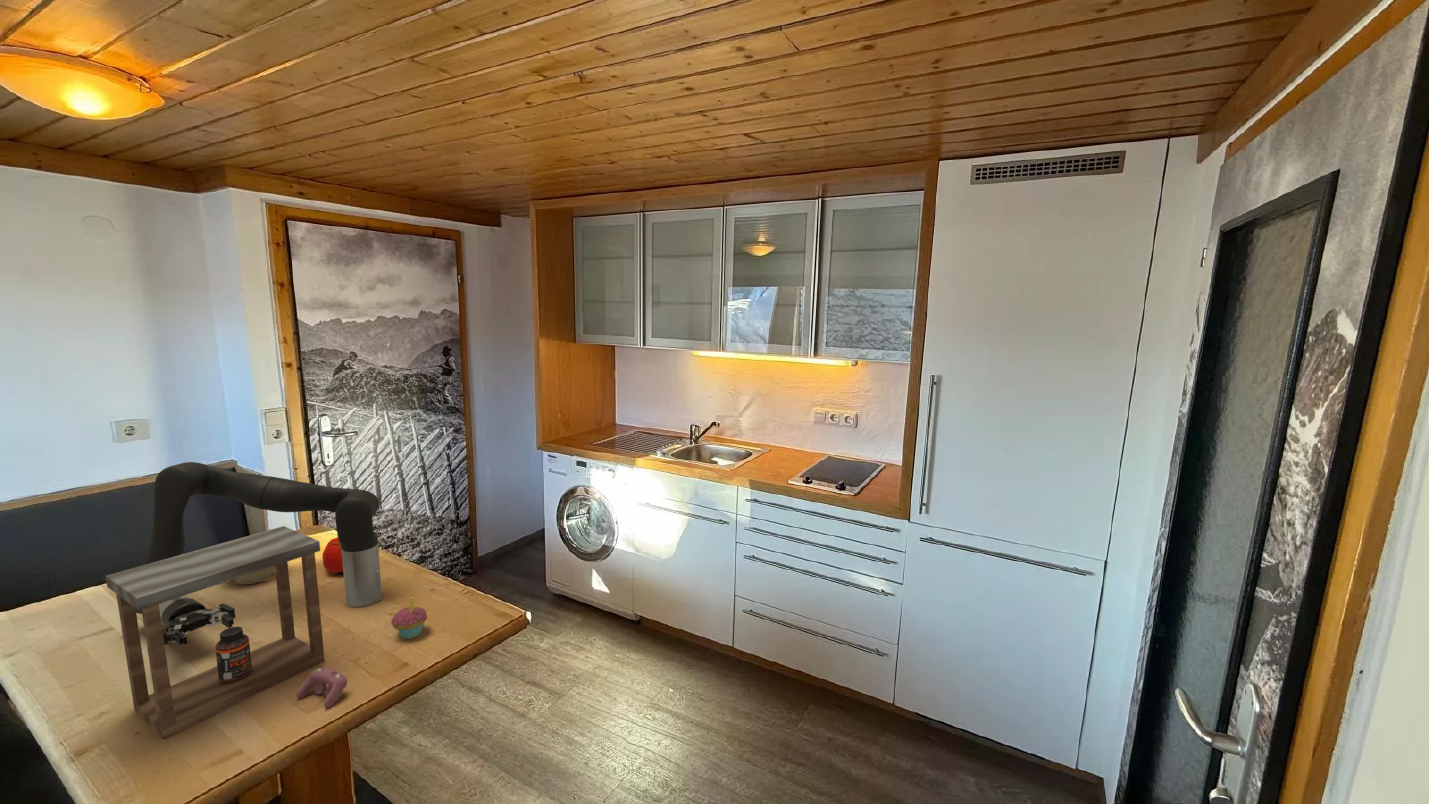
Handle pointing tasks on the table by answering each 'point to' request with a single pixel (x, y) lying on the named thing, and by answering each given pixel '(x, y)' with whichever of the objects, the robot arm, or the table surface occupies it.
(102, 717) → the table surface
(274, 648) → the under-counter shelf
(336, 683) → the video game controller
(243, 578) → the planter bowl
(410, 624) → the cupcake
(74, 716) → the table surface
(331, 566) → the tomato
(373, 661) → the table surface
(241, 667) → the supplement bottle
